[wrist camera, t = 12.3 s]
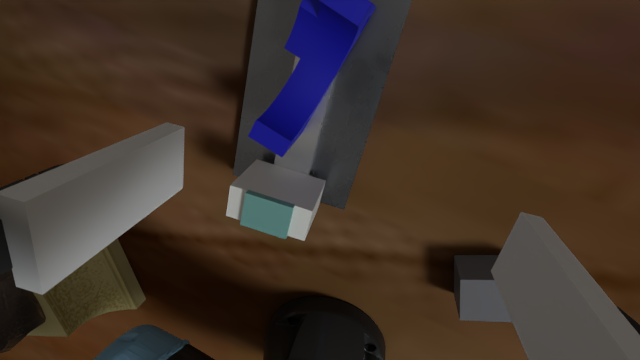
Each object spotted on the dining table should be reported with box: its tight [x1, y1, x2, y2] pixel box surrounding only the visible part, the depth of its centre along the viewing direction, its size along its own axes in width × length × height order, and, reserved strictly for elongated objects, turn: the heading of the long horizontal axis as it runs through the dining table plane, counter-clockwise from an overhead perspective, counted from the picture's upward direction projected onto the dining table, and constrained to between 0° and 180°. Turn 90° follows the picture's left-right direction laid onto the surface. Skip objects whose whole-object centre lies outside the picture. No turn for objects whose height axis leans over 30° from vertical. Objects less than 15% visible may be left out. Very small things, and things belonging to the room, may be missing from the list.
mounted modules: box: [226, 159, 326, 241], centre depth 26 cm, size 26×7×6 cm, turn 166°
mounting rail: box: [233, 0, 412, 209], centre depth 29 cm, size 26×12×2 cm, turn 166°
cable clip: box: [248, 0, 376, 157], centre depth 26 cm, size 12×4×6 cm, turn 150°
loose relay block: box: [454, 255, 512, 322], centre depth 34 cm, size 5×6×4 cm
